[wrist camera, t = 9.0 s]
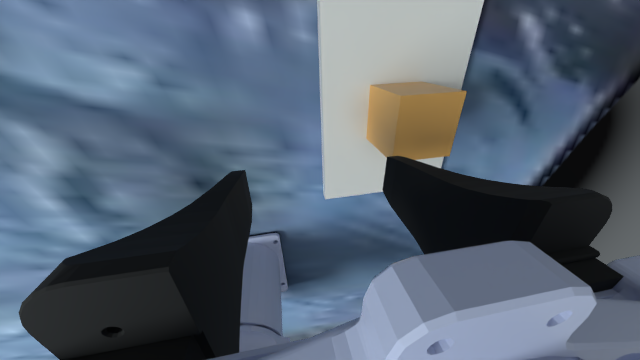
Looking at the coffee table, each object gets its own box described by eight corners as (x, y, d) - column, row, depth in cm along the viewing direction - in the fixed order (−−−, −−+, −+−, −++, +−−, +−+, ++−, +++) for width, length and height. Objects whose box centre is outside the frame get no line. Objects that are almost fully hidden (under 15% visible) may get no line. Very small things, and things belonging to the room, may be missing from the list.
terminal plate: (431, 179, 25) (459, 203, 21) (323, 193, 23) (333, 222, 20) (475, -7, 17) (535, -23, 13) (316, -6, 15) (331, -24, 12)
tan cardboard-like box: (412, 134, 21) (449, 156, 16) (366, 138, 20) (391, 162, 16) (421, 81, 19) (466, 91, 14) (370, 84, 18) (400, 95, 14)
